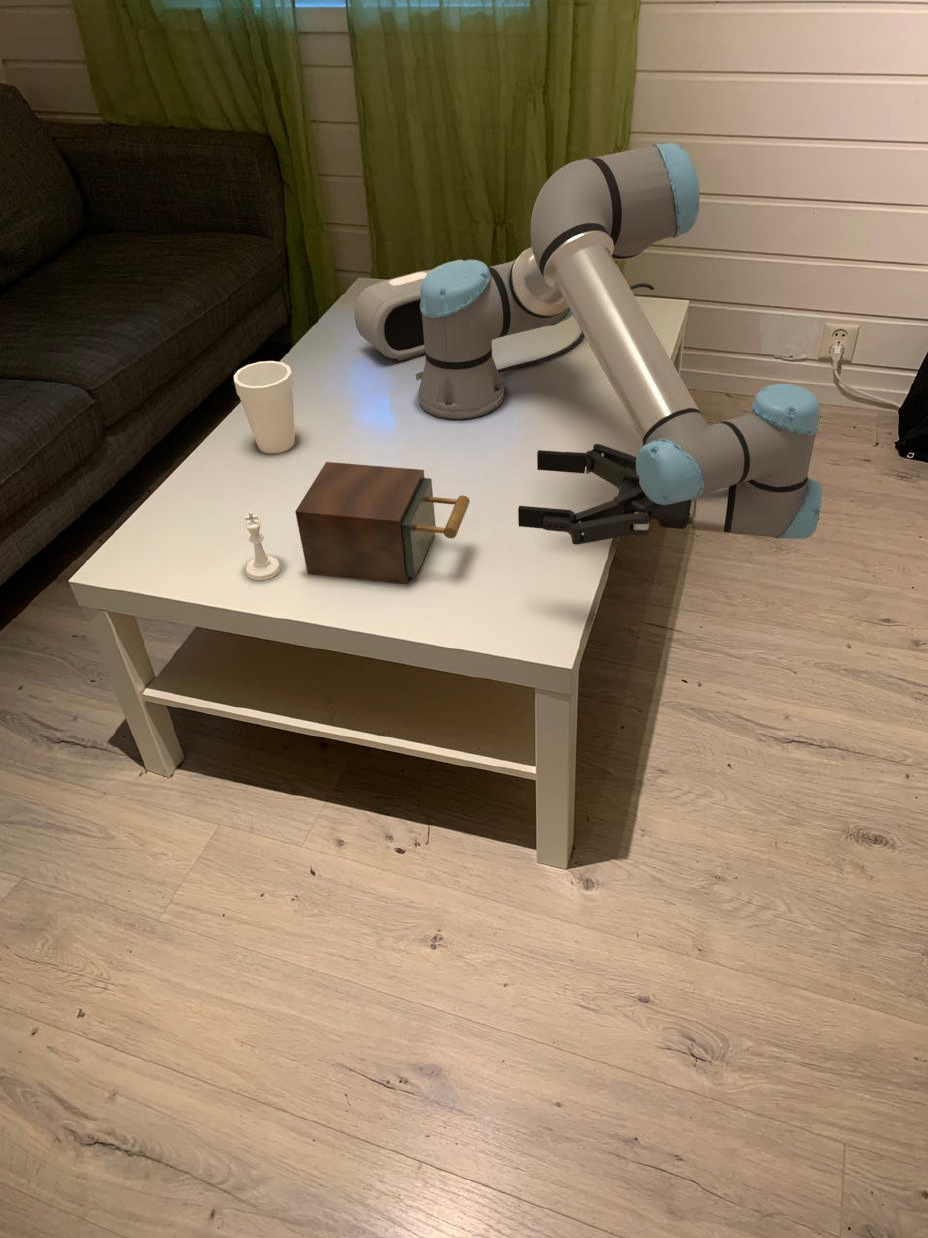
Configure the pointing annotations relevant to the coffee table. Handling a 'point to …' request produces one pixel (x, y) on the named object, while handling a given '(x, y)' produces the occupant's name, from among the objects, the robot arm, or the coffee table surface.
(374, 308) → the alarm clock
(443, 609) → the coffee table surface
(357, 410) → the coffee table surface
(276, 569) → the chess piece
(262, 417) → the foam cup
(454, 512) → the drawer
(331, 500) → the cabinet
